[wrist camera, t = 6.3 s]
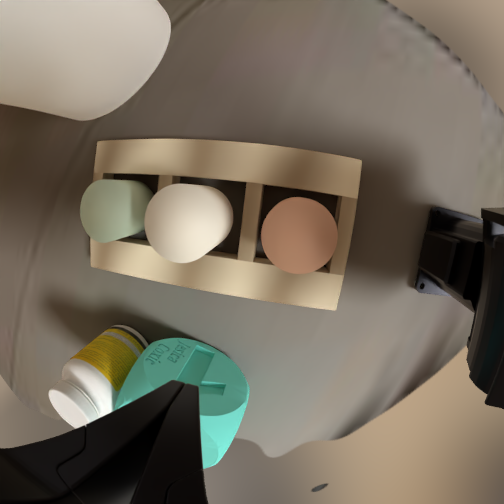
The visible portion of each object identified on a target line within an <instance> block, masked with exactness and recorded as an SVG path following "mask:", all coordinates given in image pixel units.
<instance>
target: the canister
mask: <svg viewBox="0 0 504 504" xmlns="http://www.w3.org/2000/svg"><path fill="white" fill-rule="evenodd" d="M170 33H171V24H170V19H169V16H168V14H167V13H166V11H165V10H164V9H163V7H162V6H161V5H160V4H159V2H158V1H157V0H0V104H6V105H11V106H17V107H22V108H27V109H32V110H36V111H41V112H45V113H50V114H54V115H58V116H62V117H66V118H70V119H74V120H79V121H86V120H92V119H96V118H99V117H101V116H104V115H106V114H108V113H110V112H111V111H113V110H115V109H116V108H118V107H119V106H121V105H122V104H123V103H125V102H126V101H127V100H128V99H130V98H131V97H132V96H133V95H134V94H135V93H136V92H137V91H138V90H139V89H140V88H141V87H142V86H143V85H144V84H145V82H146V81H147V80H148V79H149V78H150V76H151V75H152V74H153V72H154V71H155V69H156V68H157V66H158V65H159V63H160V61H161V59H162V57H163V55H164V53H165V51H166V49H167V46H168V43H169V39H170Z"/></svg>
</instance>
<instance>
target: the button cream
mask: <svg viewBox="0 0 504 504" xmlns="http://www.w3.org/2000/svg"><path fill="white" fill-rule="evenodd" d="M232 225H233V210H232V206H231V204H230V202H229V200H228V199H227V197H226V196H225V195H224V194H223V193H222V192H221V191H219V190H218V189H216V188H214V187H210V186H204V185H193V184H172V185H169V186H167V187H164V188H163V189H161V190H160V191H158V192H157V193H156V194H155V195H154V196H153V198H152V199H151V200H150V202H149V204H148V206H147V209H146V213H145V219H144V226H145V232H146V236H147V238H148V241H149V243H150V244H151V246H152V247H153V249H154V250H155V251H156V252H157V253H158V254H159V255H160V256H162V257H163V258H165V259H167V260H169V261H172V262H176V263H188V262H192V261H195V260H197V259H199V258H201V257H202V256H204V255H205V254H206V253H208V252H209V251H210V250H212V249H213V248H214V247H216V246H217V245H218V244H220V243H221V242H222V241H223V240H224V239H225V238H226V237H227V236H228V234H229V233H230V230H231V228H232Z"/></svg>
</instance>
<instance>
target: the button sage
mask: <svg viewBox="0 0 504 504" xmlns="http://www.w3.org/2000/svg"><path fill="white" fill-rule="evenodd" d="M153 196H154V194H153V192H152V191H151V189H150V188H149V187H148V186H147V185H146V184H144V183H143V182H140V181H133V180H98V181H95V182H94V183H92V184H91V185H90V186H89V187H88V188H87V189H86V191H85V193H84V194H83V197H82V200H81V205H80V217H81V222H82V225H83V227H84V229H85V231H86V233H87V234H88V235H89V236H90V237H91V238H92V239H93V240H95V241H97V242H100V243H107V242H111V241H114V240H117V239H121V238H124V237H127V236H130V235H134V234H137V233H140V232H143V231H144V230H145V226H144V219H145V213H146V209H147V206H148V204H149V202H150V200H151V199H152V198H153Z"/></svg>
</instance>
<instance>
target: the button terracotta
mask: <svg viewBox="0 0 504 504" xmlns="http://www.w3.org/2000/svg"><path fill="white" fill-rule="evenodd" d="M337 240H338V231H337V226H336V223H335V220H334V218H333V216H332V215H331V213H330V212H329V211H328V210H327V209H326V208H325V207H324V206H323V205H321V204H320V203H318V202H316V201H314V200H311V199H308V198H302V197H291V198H287V199H285V200H282V201H281V202H279V203H278V204H277V205H276V206H275V207H274V208H273V209H272V210H271V211H270V212H269V213H268V215H267V216H266V218H265V220H264V223H263V226H262V230H261V242H262V246H263V249H264V252H265V254H266V256H267V257H268V259H269V260H270V261H271V262H272V263H273V264H274V265H275V266H276V267H278V268H279V269H281V270H283V271H286V272H288V273H293V274H306V273H310V272H313V271H316V270H318V269H319V268H321V267H322V266H324V265H325V264H326V263H327V262H328V261H329V260H330V258H331V257H332V255H333V253H334V251H335V249H336V246H337Z"/></svg>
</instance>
